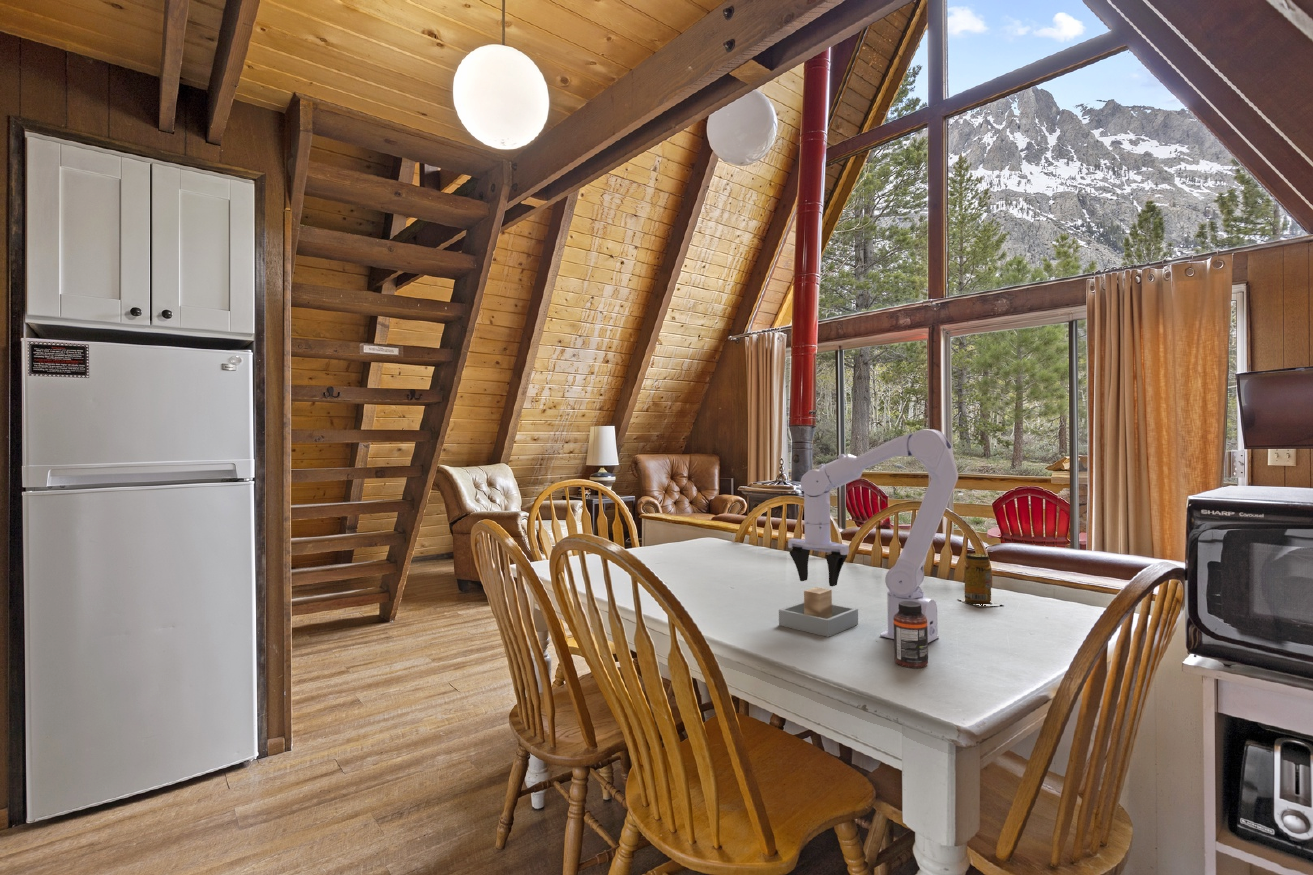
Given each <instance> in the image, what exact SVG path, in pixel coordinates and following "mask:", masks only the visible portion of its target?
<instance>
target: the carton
mask: <svg viewBox="0 0 1313 875" xmlns="http://www.w3.org/2000/svg"><path fill="white" fill-rule="evenodd" d="M832 593H833V591H832V589H829V588H822V587H817V586H815V587H813V588H809V589H806V590H805V589H804V591H803V602H804V614H806V615H811V616H815V617H820V618H825V619H828V618H831V617H832V604H833V596H832V595H833V594H832Z"/></svg>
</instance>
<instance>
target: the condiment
mask: <svg viewBox="0 0 1313 875" xmlns="http://www.w3.org/2000/svg"><path fill="white" fill-rule="evenodd" d="M965 559H966V560H965V564H964V572H963V574H964V599H965V601H961V602H962V603H965V604H969V605H972V606H975V607H978V608H991V607H990V606H986V605H984V606H983V604H991V602H992V567H991V566H990V556H989V555H987V554H985V553H984V554H983V553H972V552H971V553H967V554H965ZM990 601H991V602H990ZM993 602H994V604H1000V603H999V602H996V603H995V601H993ZM973 604H980V605H981V604H982V605H981V606H979V605H973Z"/></svg>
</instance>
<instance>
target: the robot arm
mask: <svg viewBox="0 0 1313 875" xmlns="http://www.w3.org/2000/svg"><path fill="white" fill-rule="evenodd" d="M836 457H837V458H836V459H835V460H832V461H830V462H828V463H826V464H824V463H821V464H818V469H809V470H807V472H805V473H804V474H803V475H802V476H801V479H800V487H801V490H802V491H803V492H804V493H803V494H804V497H803V498H804V500H803V506H804V507H803V508H804V509H803V510H804V511H803V515H804V519H803V520H804V538H788V539H787V540H788V541H787V545H788V546H787V547H788V548H789V549H791V550H789V551H788V552H789V555H790V557H791V558H792V561H793V563H794V564H795V567H796V569H797V570H796V571H797V573H798V578H799V581H800V582H806V581H808V577H809V572H808V571H809V557H810V552H811V551H816V552H823V553H829V554H825V559H826V563H827V570H828V585H829V587H836V586H838V581H839V578H840V577H839V576H840V573H841V570H842V567H843V565H844V563H845V561H846V559H847V558H848V555H849V554H850V545H849V544H844V543H843V544H842V543H839V542H833V541H831V533H832V531H831V530H832V529H831V499H830V498H831V495H830V492H831V491H832V490H834V489H837V488H839V487H842V486H844V485H846V484H850V483H851V482H853V481H856V480H858V479H861V477H862V475H863V472H864V471H865V469H868V468H871V467H873V466H875V465H878V464H881V463H883V462H886V461H888V460H890V459H893V458H895V457H914V458H915V460H916V459H917V461H918V462H920V463H921V464H922V465H923V467H924V468H925V470H926V472H927V474H928V476H929V477H930V481H929V484H928V486H927V488H926V492H925V494H924V497H923V499H922V502H921V504H920V506H919V508H918V511H917V514H916V516H915V519H914V521H913V524H912V527H911V529H910V531H909V534H908V536H907V539H906V541H905V543H904V545H903V548H902V550H901V552H900V554H899V556H898V558H897V560H896V563H895V564H894V565H893V566H892V567H891V568H890V569H889V570H888V571H887V572H886V574H885V579H884V580H885V581H884V582H885V585H886V587H887V591H886V595H887V596H886V597H887V598H886V599H887V602H886V603H887V630H884V631H882V632H881V633H879V636H880V637H882V638H887V639H892V640H894V624H893V623H894V615H895V614H896V613H898V611H899V609H898V608H899V602H901V601H915V602H919V603H920V604H921V608H922V611H921V612H922V614H923V615H925V616H926V618H927V627H928V644H929V643H931V642H933V641H934V640H936V639H939V637H940V635H939V634H938V628H939V626H938V606H937V601H935V600H934V599H933V598H928V597H927V596H925V595H924V591H923V589H922V587H920V586H921V584H922V583H923V582H924V579H925V571H924V570H925V569H924V566H925V564H926V562H927V557H928V553H929V551H930V549H931V546H932V544H933V541H934V539H935V536H936V534H937V532H938V529H939V527H940V524H941V521H942V519H943V517H944V514H945V512H946V509H947V507H948V504H949V502H950V499H951V497H952V494H953V492H954V490H955V487H956V484H957V483H958V480H959V471H958V468H957V463H956V460H955V455H954V451H953V445H952V444H951V442H950V441H949V439H948V438H947V437H946V435H945V434H944V433H943V432H942V431H940V430H939V429H933V428H932V429H930V428H929V429H927V428H923V429H920V430H919V429H918V430H917V431H915V432H914V433H907V434H904V435H901V436H898V437H894V438H892V439H891V440H889V441H886V442H885V443H883V444H880V445H878V446H876V447H874V448H873V449H870V450H868V451H866V452H864V453H862V454H860V455H858V456H856V455H853V454H850V453H847V454H846V455H845V453H840V454H839V455H837V456H836Z"/></svg>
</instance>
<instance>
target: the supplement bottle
mask: <svg viewBox="0 0 1313 875" xmlns="http://www.w3.org/2000/svg"><path fill="white" fill-rule="evenodd" d="M898 609H899V611H898V613H896V614H895V615H894V623H893V624H894V639H893V653H894V654H893V657H894V661H895V663H896V664H898V665H900V666H902V667H905V668H909V669H921V668H924V667H926V666H927V665H928V664H929V647H928V646H929V643H928V627H927V618H926V616H925V615H923V614H922V612H921V611H922V608H921V604H920V603H919V602H915V601H901V602H899V608H898Z"/></svg>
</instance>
